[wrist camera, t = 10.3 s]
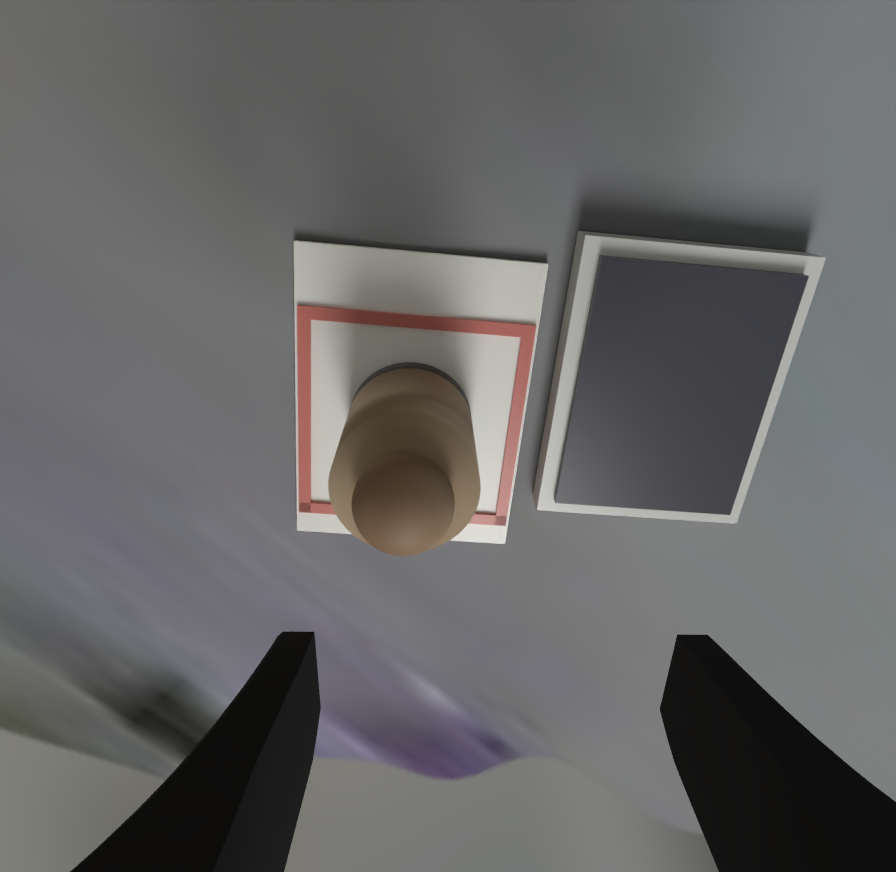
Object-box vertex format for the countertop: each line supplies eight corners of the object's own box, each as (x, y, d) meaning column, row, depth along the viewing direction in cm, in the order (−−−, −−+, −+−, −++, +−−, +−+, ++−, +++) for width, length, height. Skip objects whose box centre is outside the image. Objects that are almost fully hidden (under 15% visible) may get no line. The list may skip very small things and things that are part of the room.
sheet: (547, 263, 19) (549, 265, 18) (504, 540, 23) (505, 546, 23) (295, 240, 18) (292, 241, 18) (298, 527, 22) (296, 532, 22)
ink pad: (806, 252, 19) (832, 259, 18) (724, 508, 22) (740, 528, 21) (577, 230, 18) (587, 236, 17) (532, 495, 22) (538, 514, 21)
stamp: (472, 362, 20) (489, 455, 14) (469, 473, 21) (483, 600, 15) (345, 361, 20) (307, 456, 14) (353, 473, 21) (321, 601, 15)
